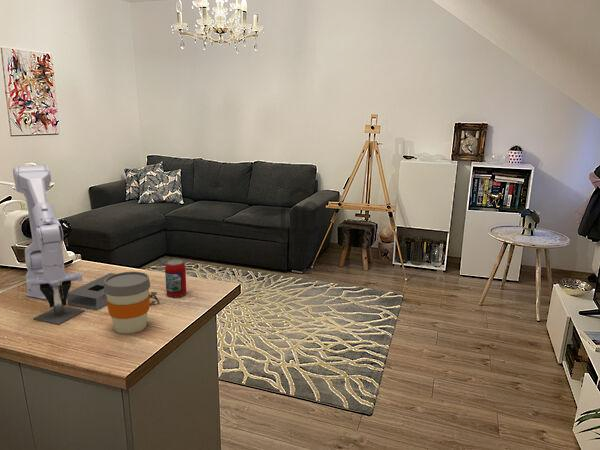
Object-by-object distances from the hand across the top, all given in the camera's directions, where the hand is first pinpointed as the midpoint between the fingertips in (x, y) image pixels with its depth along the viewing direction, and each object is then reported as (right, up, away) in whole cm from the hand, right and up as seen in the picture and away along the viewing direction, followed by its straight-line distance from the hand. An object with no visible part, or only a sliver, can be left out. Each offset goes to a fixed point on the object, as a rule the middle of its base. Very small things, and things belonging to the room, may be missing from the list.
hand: (58, 305), depth 137 cm
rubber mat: (0, -3, +1) cm, 3 cm away
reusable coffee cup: (+24, -6, -5) cm, 25 cm away
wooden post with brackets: (+24, -2, +9) cm, 26 cm away
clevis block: (+7, 0, +16) cm, 17 cm away
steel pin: (0, -3, +1) cm, 3 cm away
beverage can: (+31, 0, +18) cm, 36 cm away
